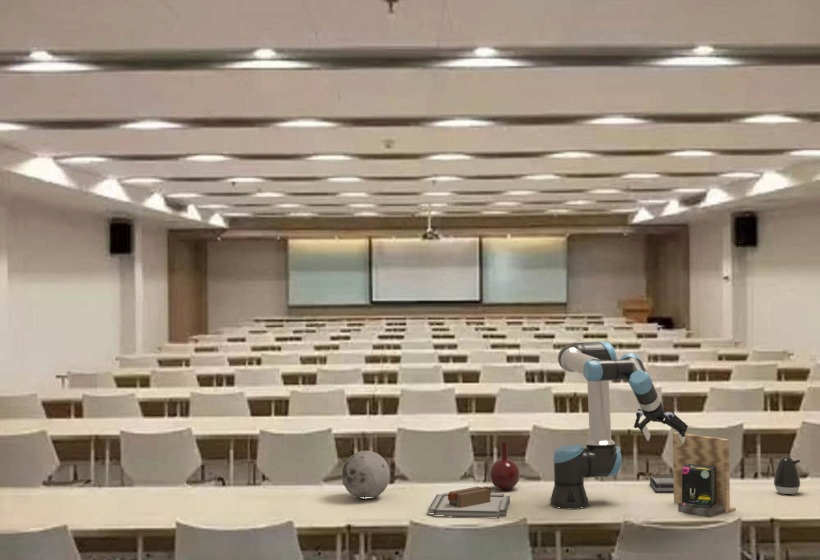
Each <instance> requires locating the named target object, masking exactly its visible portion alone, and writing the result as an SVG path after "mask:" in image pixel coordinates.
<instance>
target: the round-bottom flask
mask: <svg viewBox="0 0 820 560" xmlns="http://www.w3.org/2000/svg"><path fill="white" fill-rule="evenodd" d="M508 444H509V443H508V442H500V449H501V450H500V452H501V453H500V457H501V458H499V459H497V460H496V461H495V462H494V463H493V462H492V464H491V466H490V469H489V479H490V480H489V481H490V482H491V484H492V485H493V486H494V487H495V488H497V489H499V490H502V491H507V490H510V489H513V488H514V487H516V486H517V484H518V483H519V482H520V478H521V471H520V468H519V466H518V464H517V463H516V462H515V461H513V460H511V459H509V458H508Z"/></svg>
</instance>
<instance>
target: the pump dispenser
mask: <svg viewBox="0 0 820 560" xmlns="http://www.w3.org/2000/svg"><path fill="white" fill-rule="evenodd" d="M798 463H801V460H800V459H795V460H793V458H791V457H789V456H784V457H782V458H780V460H779V462H778V463H777V465H776V467H775V472H774V477H773V485H774V488H775V490H776V491H777V492H778V493H779V494H781V495H784V494H793V495H795V494H797V493H798V491H799V489H800V487H801V480H800V474H799V471H798V468H797V465H796V464H798Z"/></svg>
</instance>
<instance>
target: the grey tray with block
mask: <svg viewBox="0 0 820 560" xmlns="http://www.w3.org/2000/svg"><path fill="white" fill-rule="evenodd" d="M510 498H511V495H505V494H504V493H492V488H491V487H489V486H484V487H482V486H475V487H469V488H463V489H458V490H451V491H449V492H444V493H442V494H441V493H440V494H437V493H436V495H435V497H434V498H433V500H432V502H431V503H430V505H429V507H428V511H427V513H428V512H429V513H434V515H444V516H452V517H451V518H466V517H497V518H496V519H500V517H499V516H505V517H504V518H506V517H507V513H508V511H507V510H509V507H510V502H511V499H510ZM508 506H509V507H508ZM434 515H433V516H434Z"/></svg>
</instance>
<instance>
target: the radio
mask: <svg viewBox="0 0 820 560" xmlns="http://www.w3.org/2000/svg"><path fill="white" fill-rule="evenodd" d="M649 486H650V487H651V489H652V490H653V492H654V493H655V494H674V475H650V477H649Z"/></svg>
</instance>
